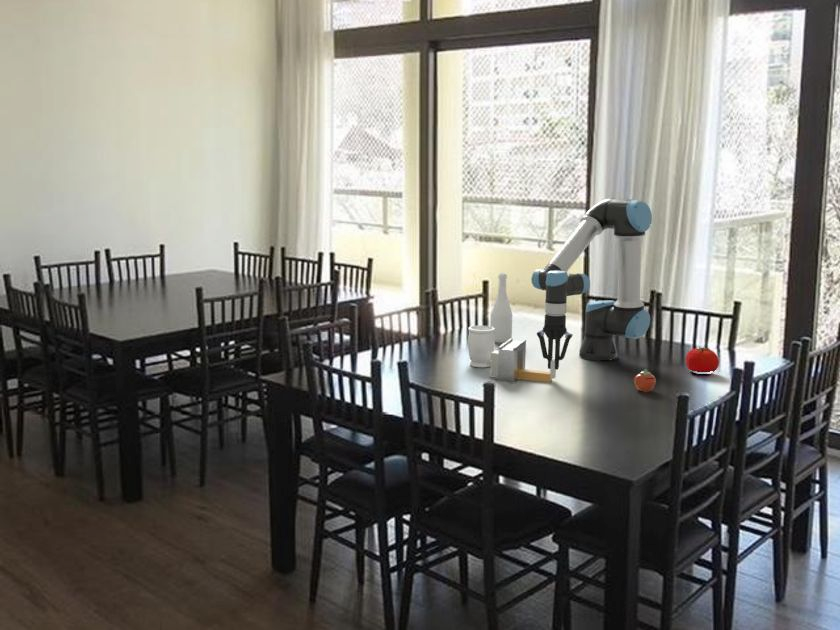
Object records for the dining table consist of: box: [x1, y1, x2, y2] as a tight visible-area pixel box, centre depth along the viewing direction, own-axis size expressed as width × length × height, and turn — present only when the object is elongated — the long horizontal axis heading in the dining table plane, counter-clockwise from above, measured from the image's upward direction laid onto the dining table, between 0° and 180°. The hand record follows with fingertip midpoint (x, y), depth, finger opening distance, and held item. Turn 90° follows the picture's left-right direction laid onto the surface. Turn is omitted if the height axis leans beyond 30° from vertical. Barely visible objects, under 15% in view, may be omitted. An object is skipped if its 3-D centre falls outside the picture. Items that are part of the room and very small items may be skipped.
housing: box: [497, 337, 527, 384], centre depth 323 cm, size 6×16×13 cm, turn 159°
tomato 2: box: [633, 368, 657, 392], centre depth 307 cm, size 7×7×8 cm
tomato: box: [685, 345, 720, 372], centre depth 331 cm, size 11×13×10 cm
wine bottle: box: [489, 272, 513, 344], centre depth 381 cm, size 10×10×30 cm
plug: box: [487, 349, 553, 383], centre depth 322 cm, size 24×5×9 cm, turn 69°
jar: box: [467, 325, 496, 369], centre depth 339 cm, size 11×10×15 cm
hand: (552, 377), depth 318 cm, fingers closed
